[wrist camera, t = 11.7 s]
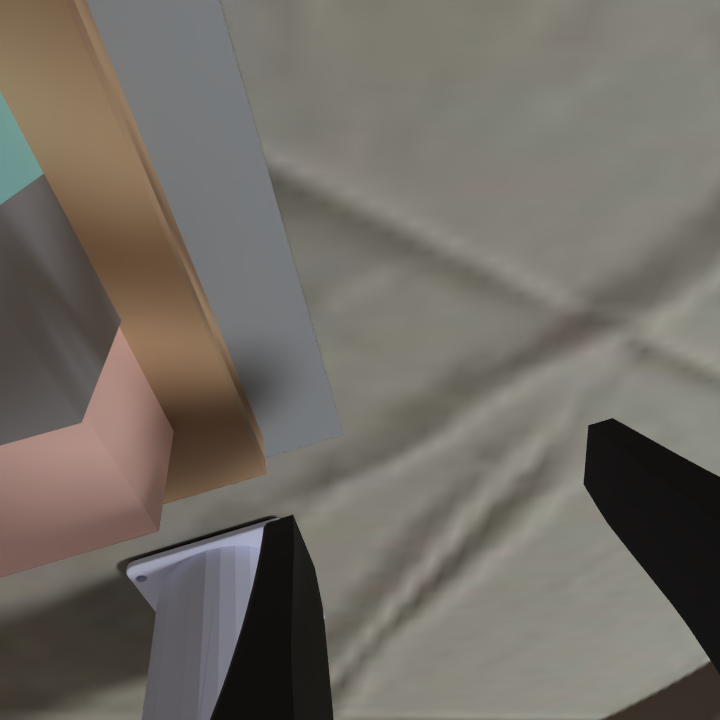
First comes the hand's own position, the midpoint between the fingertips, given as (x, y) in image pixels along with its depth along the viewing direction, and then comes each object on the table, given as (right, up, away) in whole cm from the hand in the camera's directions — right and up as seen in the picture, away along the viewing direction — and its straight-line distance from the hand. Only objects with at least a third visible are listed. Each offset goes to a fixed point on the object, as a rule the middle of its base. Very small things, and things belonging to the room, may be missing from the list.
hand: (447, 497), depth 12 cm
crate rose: (-10, +2, +3) cm, 11 cm away
